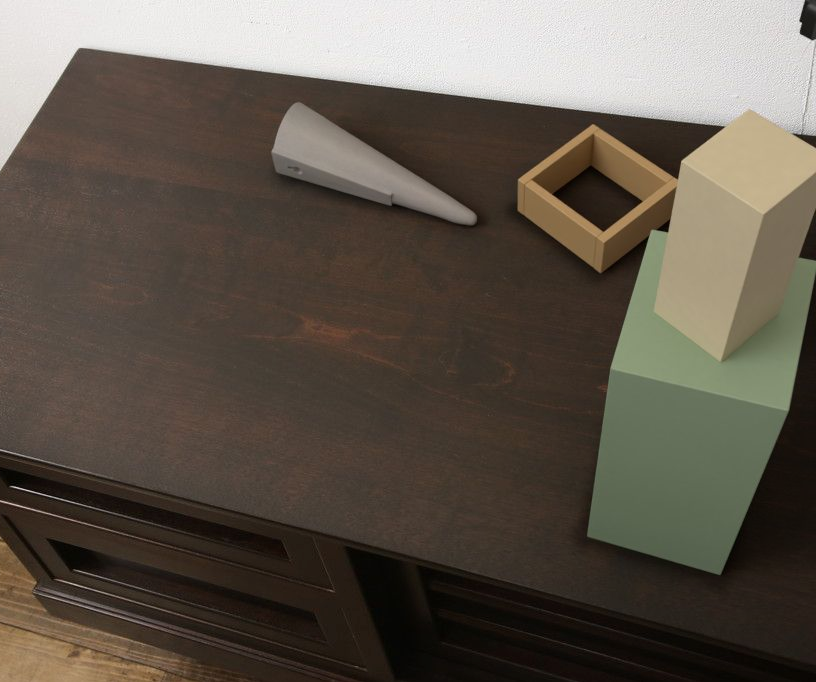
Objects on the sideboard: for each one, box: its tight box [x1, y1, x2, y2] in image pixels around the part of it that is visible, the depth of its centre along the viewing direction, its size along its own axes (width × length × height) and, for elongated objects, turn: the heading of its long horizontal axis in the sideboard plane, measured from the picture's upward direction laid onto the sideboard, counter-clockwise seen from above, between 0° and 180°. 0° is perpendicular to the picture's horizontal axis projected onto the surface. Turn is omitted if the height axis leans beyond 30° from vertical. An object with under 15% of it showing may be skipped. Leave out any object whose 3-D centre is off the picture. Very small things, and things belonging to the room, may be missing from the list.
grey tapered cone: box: [271, 101, 478, 226], centre depth 96 cm, size 6×6×19 cm
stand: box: [586, 229, 816, 576], centre depth 68 cm, size 9×10×22 cm
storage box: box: [517, 124, 678, 274], centre depth 90 cm, size 10×9×4 cm
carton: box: [654, 108, 816, 362], centre depth 54 cm, size 5×5×12 cm
